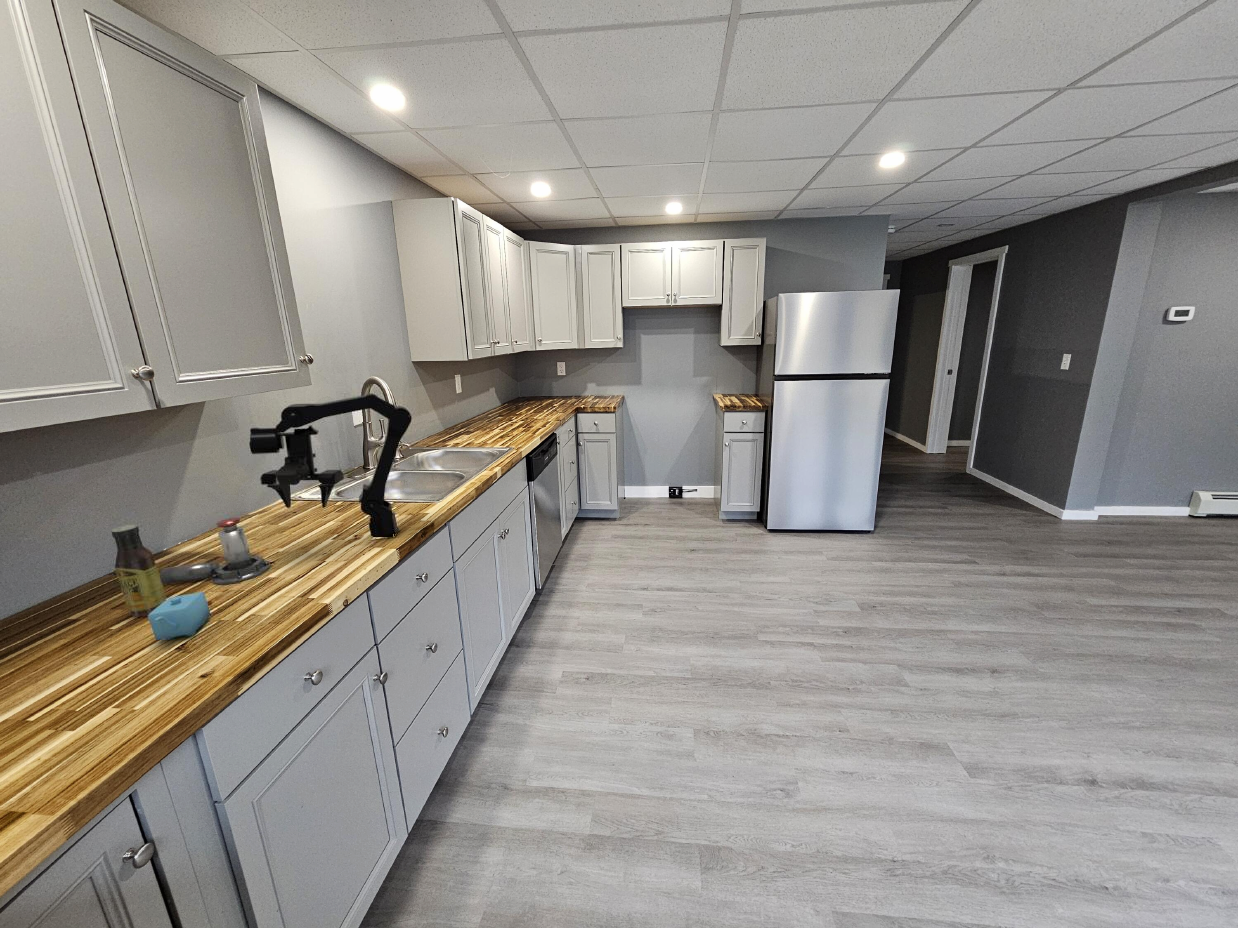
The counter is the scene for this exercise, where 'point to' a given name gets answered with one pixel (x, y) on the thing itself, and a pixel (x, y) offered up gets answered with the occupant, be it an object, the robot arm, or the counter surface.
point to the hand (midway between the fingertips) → (306, 507)
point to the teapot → (179, 616)
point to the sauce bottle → (137, 572)
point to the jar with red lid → (234, 544)
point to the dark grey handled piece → (214, 572)
